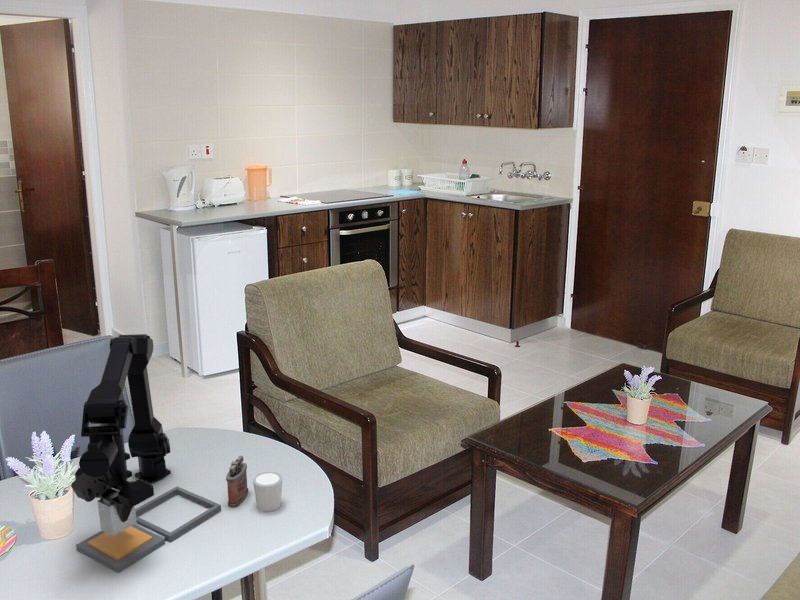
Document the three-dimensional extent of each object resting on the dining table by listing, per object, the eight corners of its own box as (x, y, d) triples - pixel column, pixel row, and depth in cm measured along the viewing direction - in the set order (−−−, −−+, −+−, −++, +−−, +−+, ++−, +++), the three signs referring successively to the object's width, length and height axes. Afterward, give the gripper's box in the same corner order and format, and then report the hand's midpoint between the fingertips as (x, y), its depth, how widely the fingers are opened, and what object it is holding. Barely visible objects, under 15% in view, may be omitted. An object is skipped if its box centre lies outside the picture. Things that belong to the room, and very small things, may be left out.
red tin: (238, 508, 179) (235, 470, 176) (224, 506, 179) (222, 468, 177) (251, 490, 186) (249, 453, 184) (238, 489, 187) (236, 452, 184)
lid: (76, 549, 163) (75, 542, 163) (127, 521, 174) (126, 514, 173) (118, 572, 156) (117, 565, 155) (168, 541, 166) (168, 534, 166)
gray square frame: (125, 520, 174) (125, 514, 173) (177, 491, 186) (177, 486, 185) (170, 542, 166) (169, 536, 165) (221, 510, 178) (220, 504, 177)
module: (100, 530, 162) (97, 498, 159) (124, 516, 166) (121, 486, 164) (113, 536, 159) (109, 504, 157) (136, 522, 164) (133, 491, 162)
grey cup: (258, 515, 176) (256, 488, 174) (251, 500, 182) (249, 474, 180) (287, 509, 179) (285, 482, 177) (279, 494, 185) (278, 469, 183)
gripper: (47, 455, 156) (57, 522, 161) (105, 482, 146) (113, 552, 151) (95, 434, 165) (102, 498, 170) (152, 458, 155) (159, 525, 160)
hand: (118, 518), depth 162 cm, fingers closed on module, 4 cm apart
